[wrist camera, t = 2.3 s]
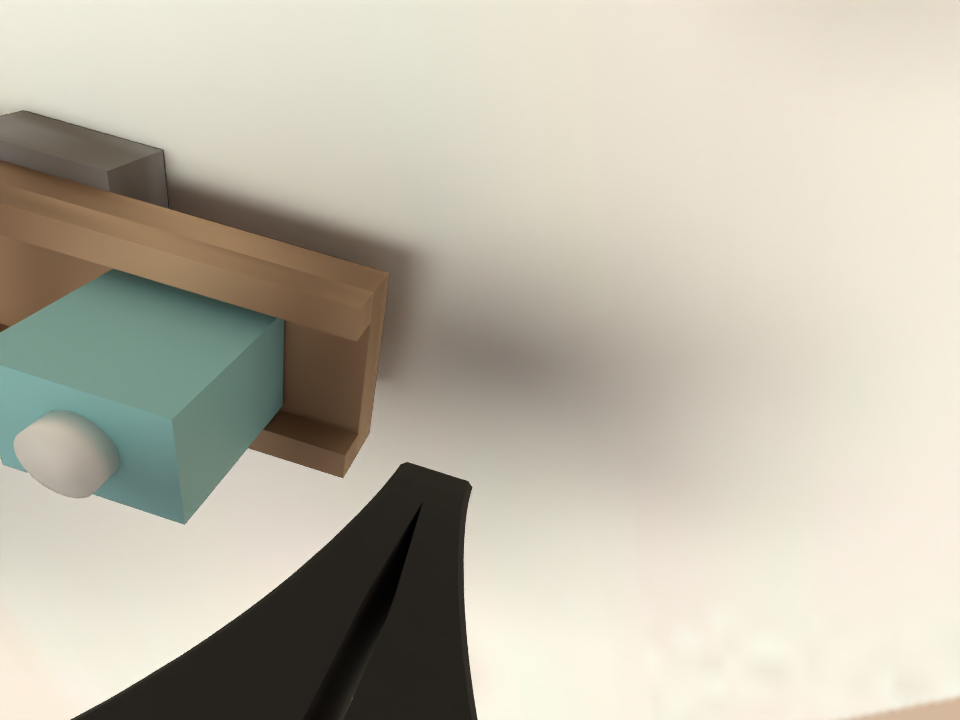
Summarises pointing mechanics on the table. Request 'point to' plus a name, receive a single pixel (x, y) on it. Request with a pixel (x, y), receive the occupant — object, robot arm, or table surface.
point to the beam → (189, 273)
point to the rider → (137, 392)
